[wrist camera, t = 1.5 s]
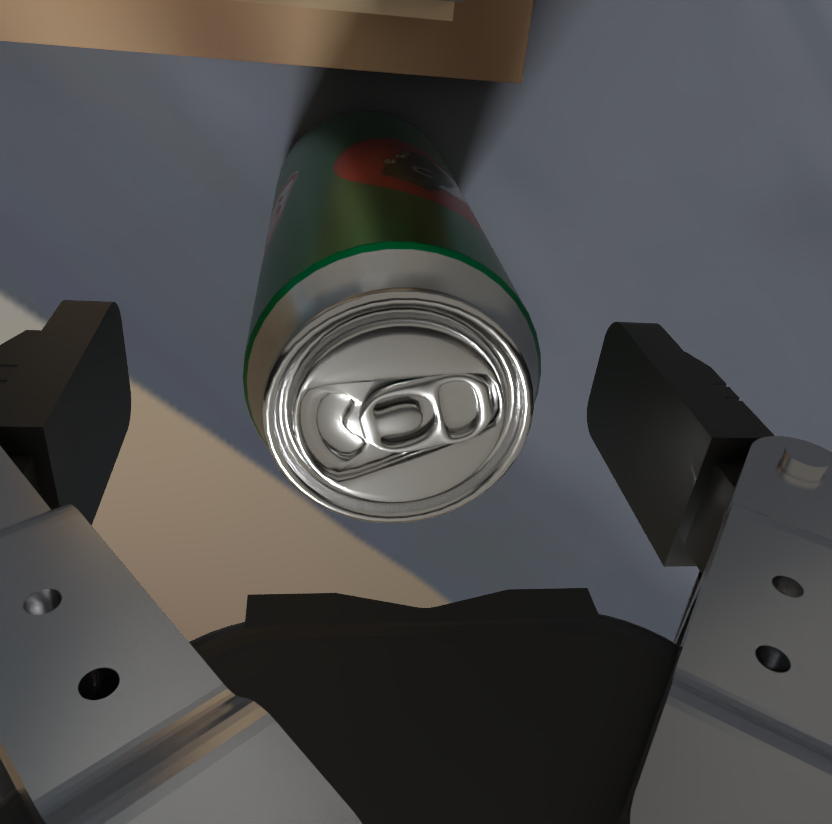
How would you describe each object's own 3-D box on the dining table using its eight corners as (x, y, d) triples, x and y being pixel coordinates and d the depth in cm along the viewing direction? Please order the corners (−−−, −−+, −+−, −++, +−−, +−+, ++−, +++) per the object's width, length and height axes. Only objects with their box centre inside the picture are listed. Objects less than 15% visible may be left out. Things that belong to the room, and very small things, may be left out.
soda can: (254, 129, 20) (186, 312, 10) (433, 88, 20) (542, 233, 10) (304, 295, 23) (289, 567, 13) (461, 259, 23) (570, 506, 13)
